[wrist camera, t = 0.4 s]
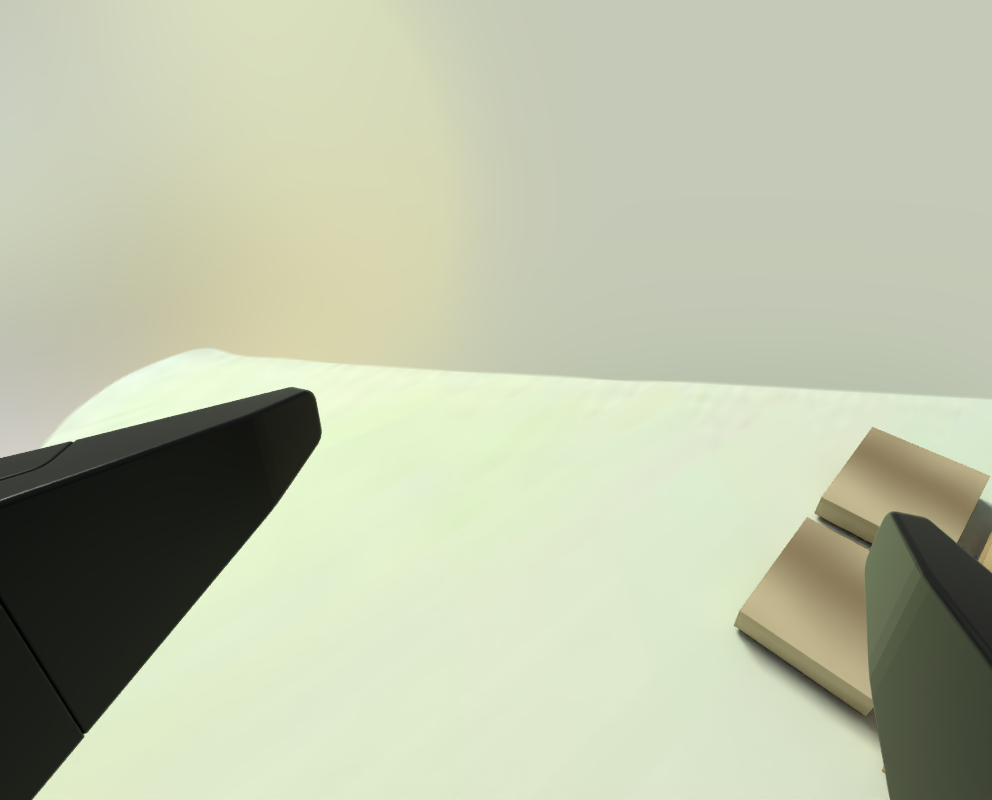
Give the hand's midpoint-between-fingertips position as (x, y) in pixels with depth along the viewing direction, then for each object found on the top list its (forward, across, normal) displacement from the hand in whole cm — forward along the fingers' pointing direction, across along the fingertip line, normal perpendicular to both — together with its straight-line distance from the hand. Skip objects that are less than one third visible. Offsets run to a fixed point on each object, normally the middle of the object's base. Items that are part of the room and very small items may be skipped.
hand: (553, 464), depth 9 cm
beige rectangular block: (+16, -10, +13) cm, 23 cm away
